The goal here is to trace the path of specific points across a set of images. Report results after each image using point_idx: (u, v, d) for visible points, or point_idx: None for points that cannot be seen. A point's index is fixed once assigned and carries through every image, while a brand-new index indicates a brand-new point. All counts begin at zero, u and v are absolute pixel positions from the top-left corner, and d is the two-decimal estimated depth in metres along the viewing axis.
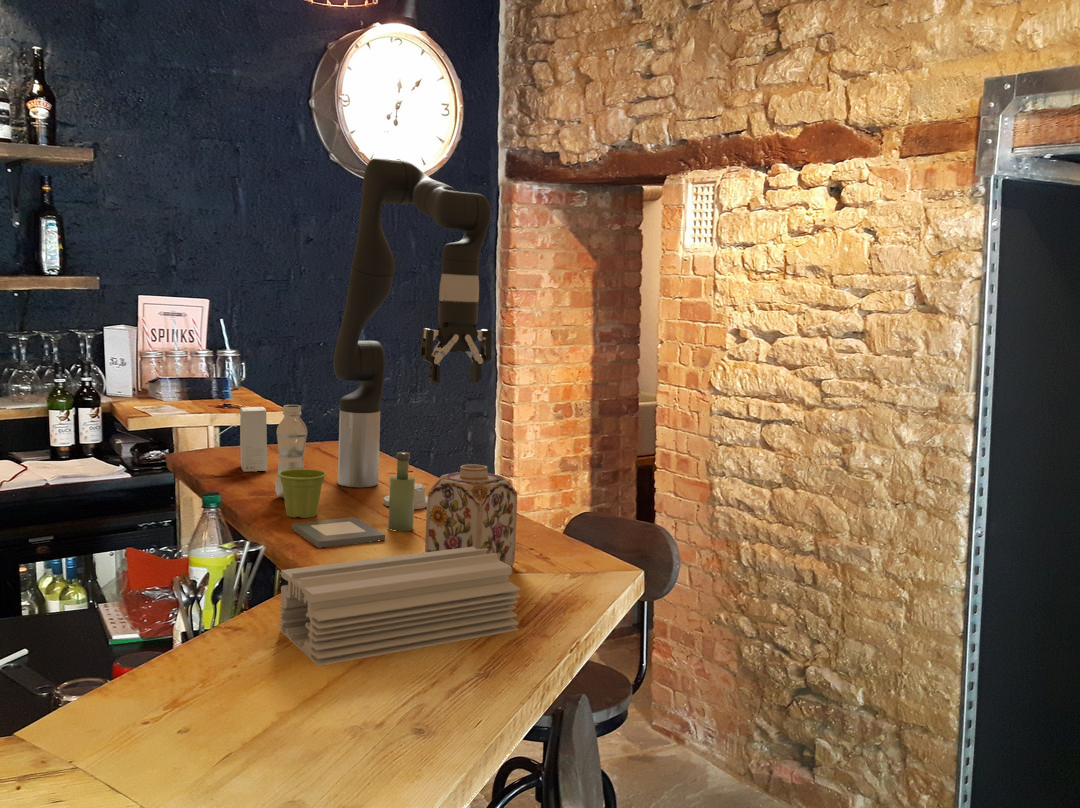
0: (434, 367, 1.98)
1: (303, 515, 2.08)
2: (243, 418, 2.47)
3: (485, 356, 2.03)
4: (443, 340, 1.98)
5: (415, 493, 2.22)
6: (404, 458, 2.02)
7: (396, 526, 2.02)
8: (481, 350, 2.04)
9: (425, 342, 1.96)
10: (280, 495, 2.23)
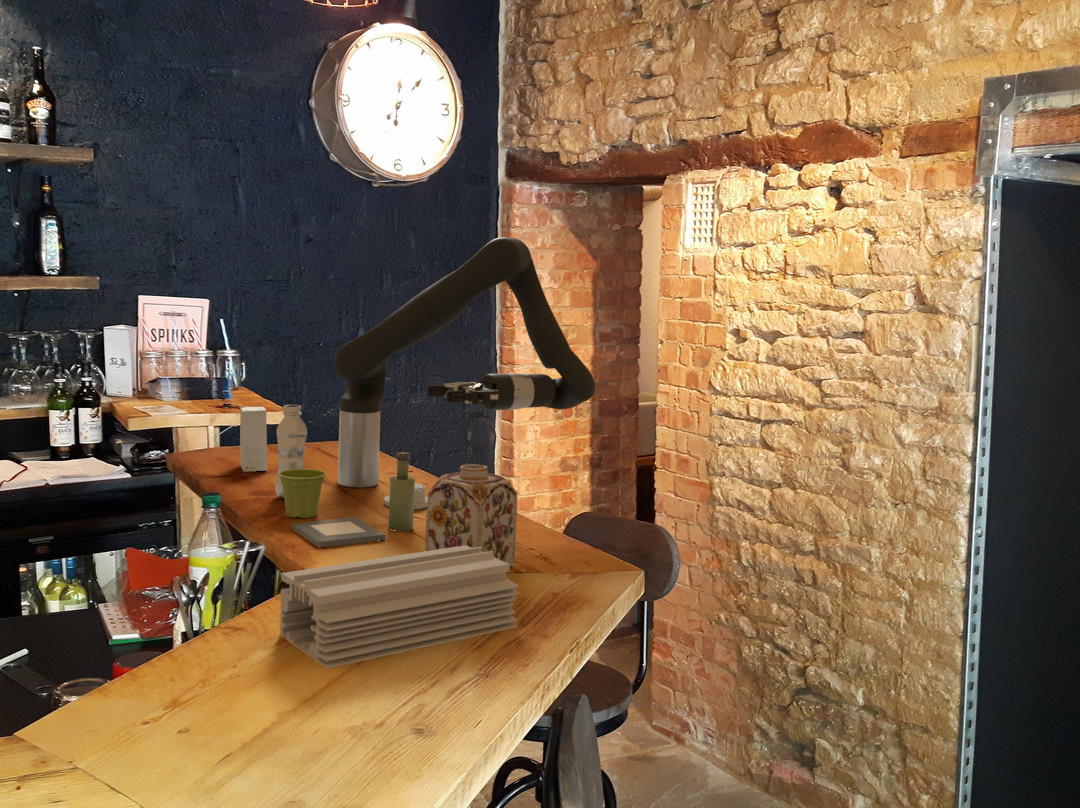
0: None
1: (303, 515, 2.08)
2: (243, 418, 2.47)
3: None
4: (481, 399, 2.09)
5: (415, 493, 2.21)
6: (404, 458, 2.02)
7: (396, 526, 2.02)
8: None
9: (488, 400, 2.06)
10: (280, 495, 2.23)
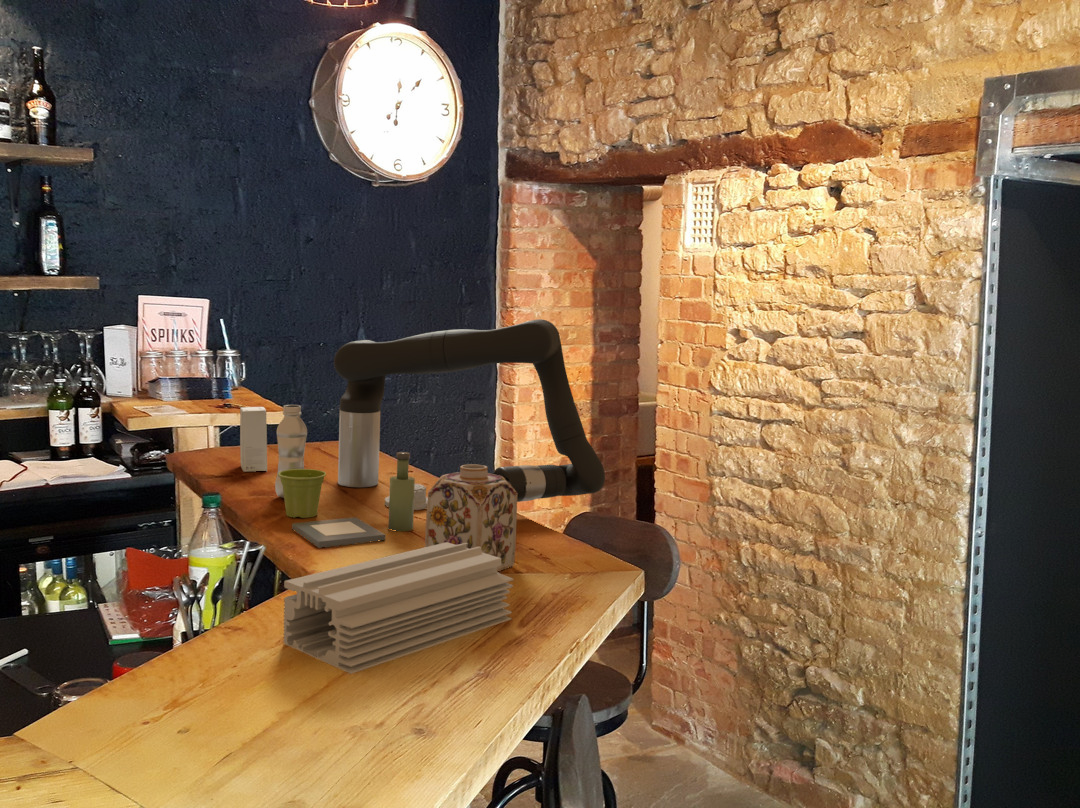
0: None
1: (303, 515, 2.08)
2: (243, 418, 2.47)
3: None
4: None
5: (416, 494, 2.21)
6: (404, 458, 2.02)
7: (396, 526, 2.02)
8: None
9: None
10: (280, 495, 2.23)
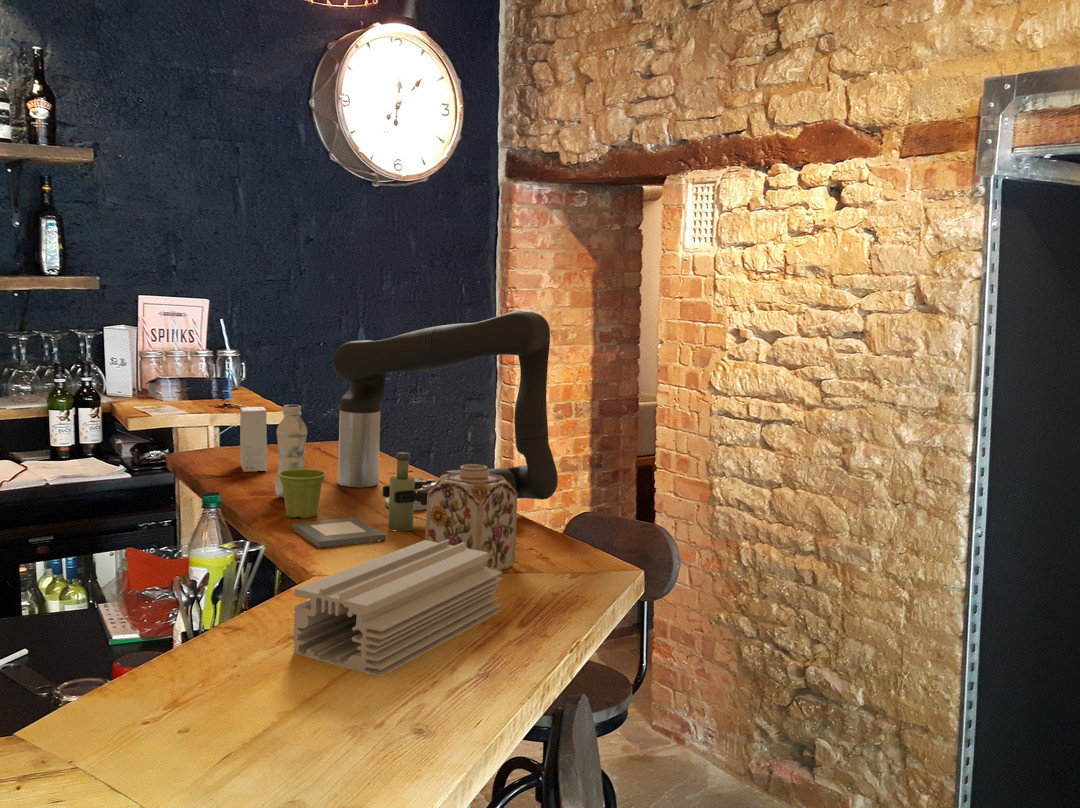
0: (411, 500, 2.01)
1: (303, 515, 2.08)
2: (243, 418, 2.47)
3: None
4: None
5: None
6: (404, 458, 2.02)
7: (396, 526, 2.02)
8: None
9: None
10: (280, 495, 2.23)
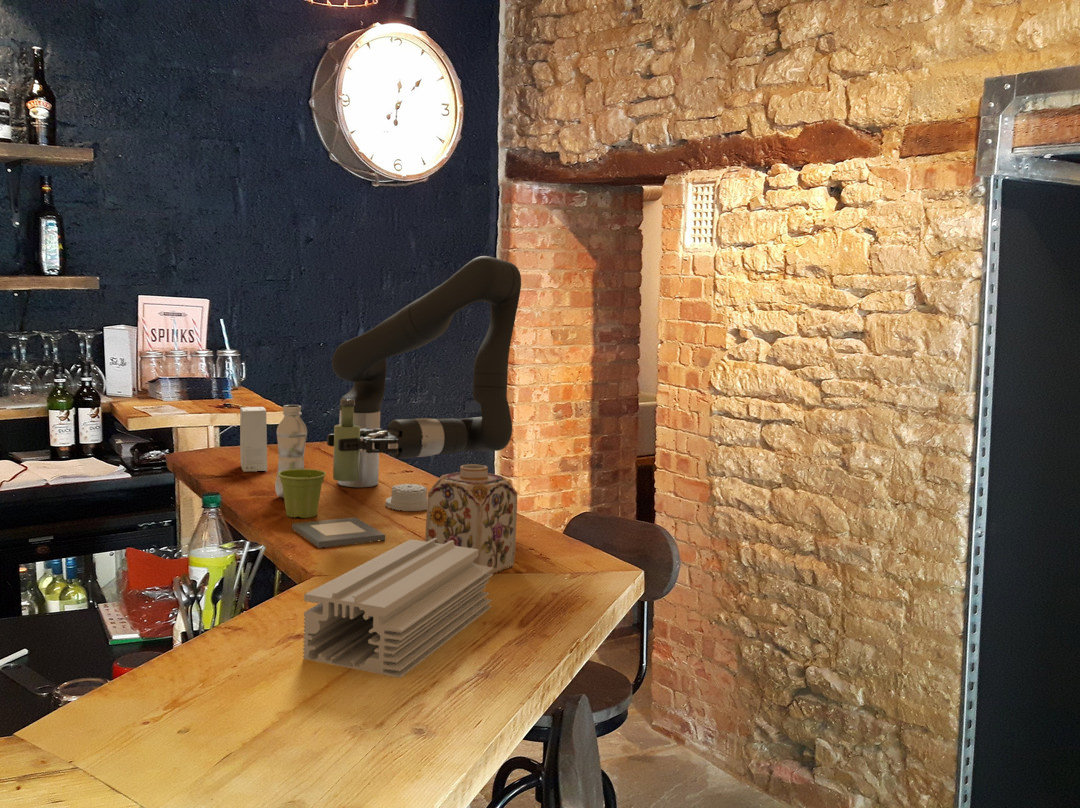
0: (356, 448, 1.93)
1: (303, 515, 2.08)
2: (243, 418, 2.47)
3: None
4: None
5: (417, 495, 2.20)
6: (349, 404, 1.94)
7: (341, 475, 1.94)
8: None
9: (384, 449, 1.94)
10: (280, 495, 2.23)
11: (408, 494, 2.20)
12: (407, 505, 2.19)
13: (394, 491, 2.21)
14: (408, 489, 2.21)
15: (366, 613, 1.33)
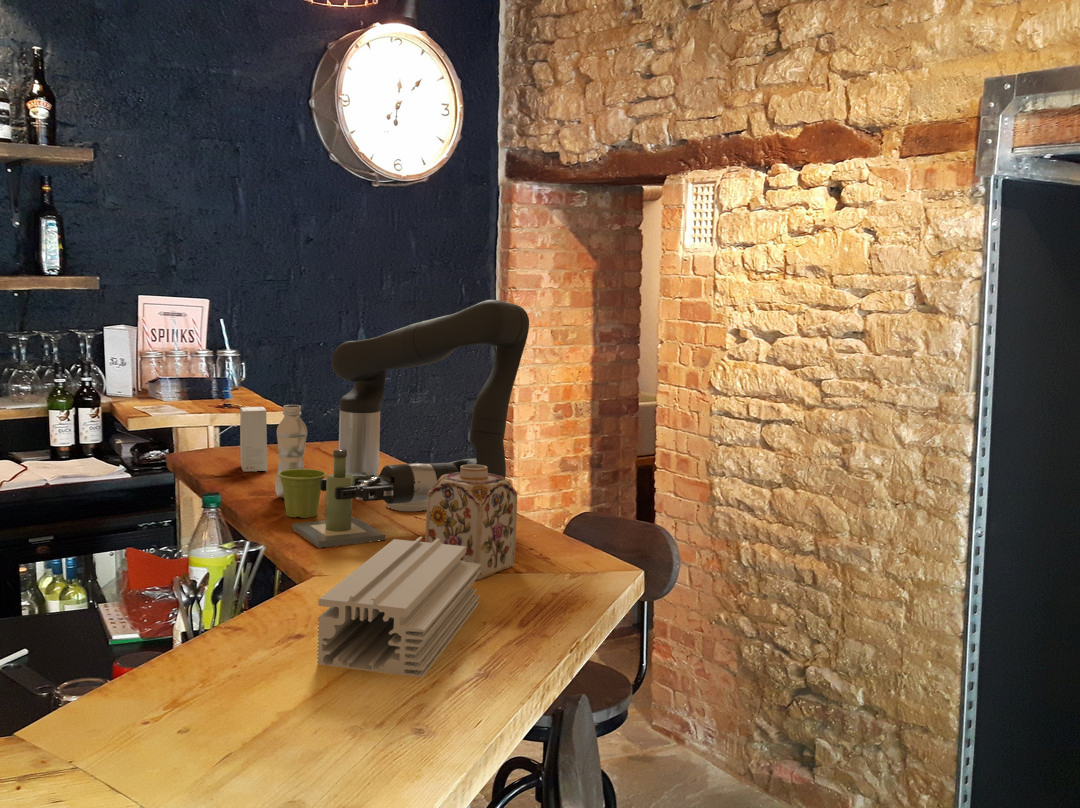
0: (352, 496, 1.94)
1: (303, 515, 2.08)
2: (243, 418, 2.47)
3: None
4: None
5: None
6: (341, 455, 1.95)
7: (333, 525, 1.95)
8: None
9: (381, 496, 1.94)
10: (280, 495, 2.23)
11: None
12: (407, 505, 2.19)
13: None
14: None
15: (386, 615, 1.33)
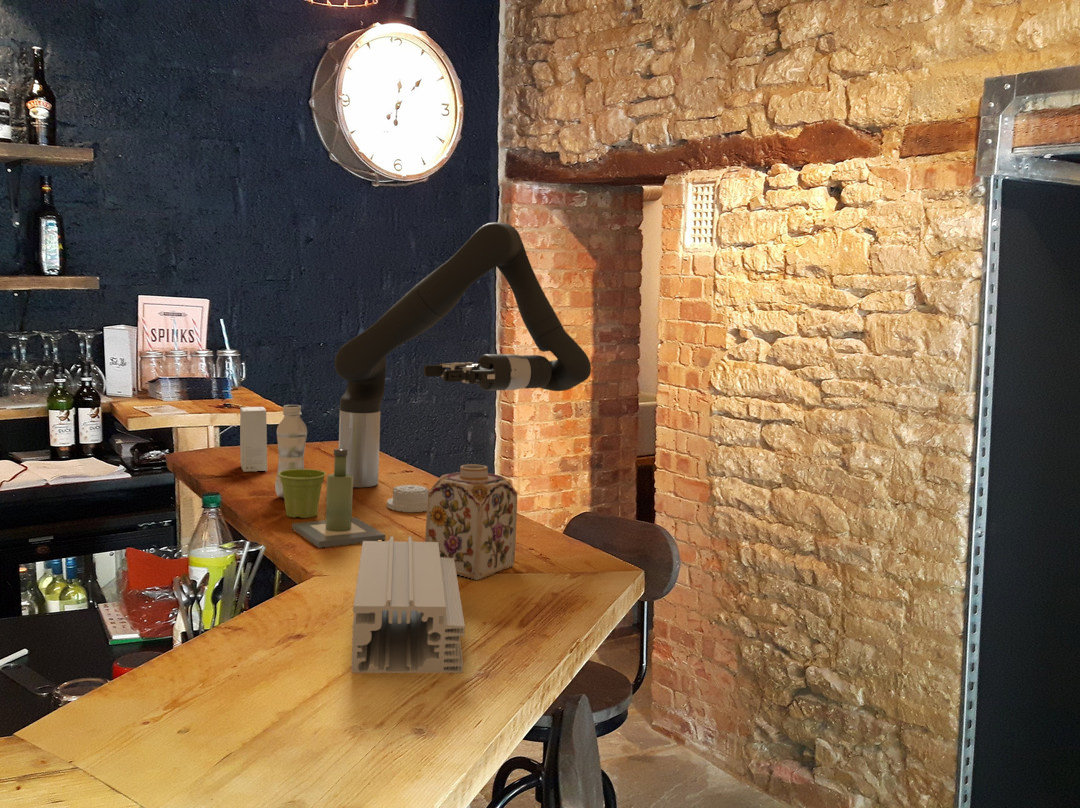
0: (459, 379, 2.06)
1: (303, 515, 2.08)
2: (243, 418, 2.47)
3: None
4: (478, 379, 2.10)
5: (418, 496, 2.19)
6: (341, 454, 1.95)
7: (332, 524, 1.95)
8: None
9: (485, 379, 2.07)
10: (280, 495, 2.23)
11: (410, 495, 2.19)
12: (408, 506, 2.18)
13: (396, 492, 2.20)
14: (410, 490, 2.20)
15: (425, 615, 1.34)
